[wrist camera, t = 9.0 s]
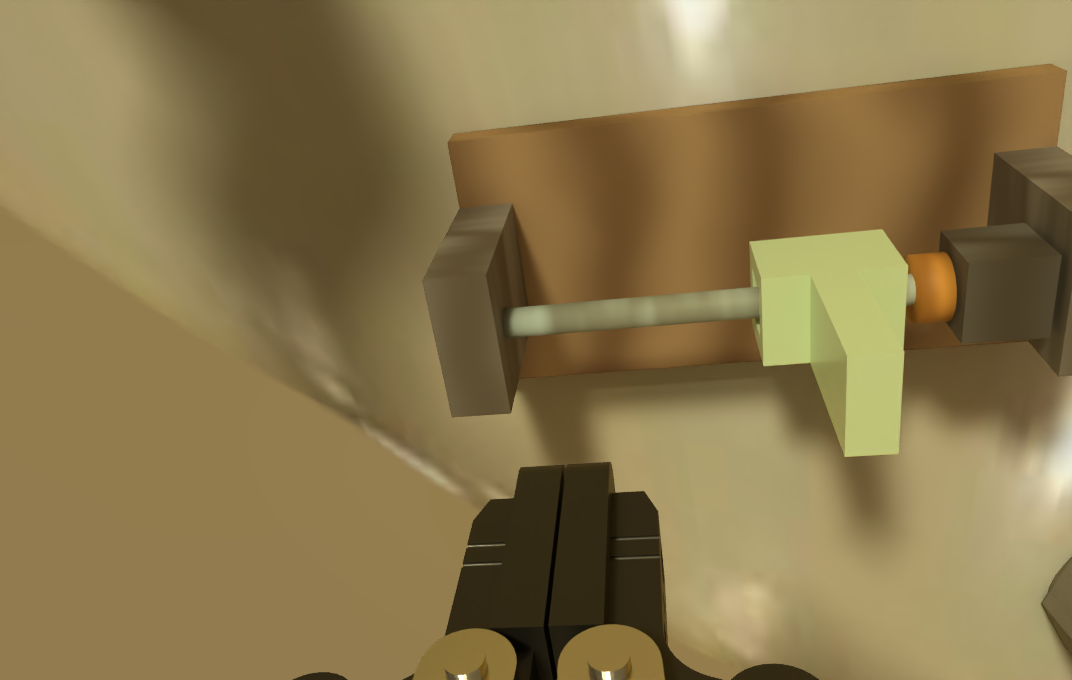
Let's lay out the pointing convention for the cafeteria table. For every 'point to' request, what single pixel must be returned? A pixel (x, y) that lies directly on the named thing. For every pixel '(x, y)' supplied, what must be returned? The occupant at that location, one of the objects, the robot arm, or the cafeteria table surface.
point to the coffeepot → (1061, 604)
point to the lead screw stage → (750, 226)
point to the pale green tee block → (838, 326)
